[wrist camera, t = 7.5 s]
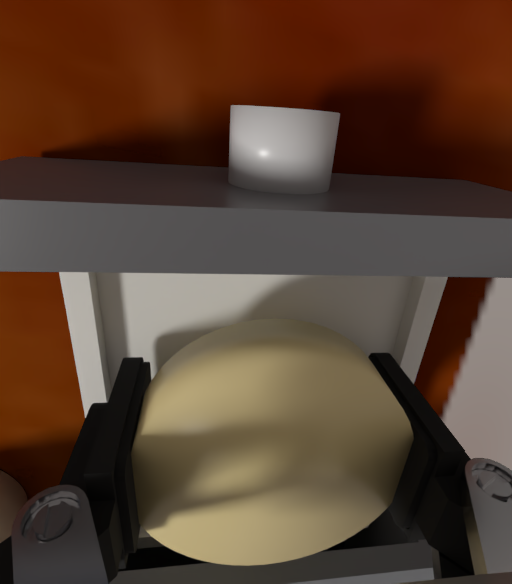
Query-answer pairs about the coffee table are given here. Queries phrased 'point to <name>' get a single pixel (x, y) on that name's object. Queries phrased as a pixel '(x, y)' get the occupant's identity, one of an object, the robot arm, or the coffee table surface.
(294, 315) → the drawer
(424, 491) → the robot arm
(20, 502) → the beige rounded lump
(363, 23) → the coffee table surface
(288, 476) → the cream domed disc
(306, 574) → the housing
